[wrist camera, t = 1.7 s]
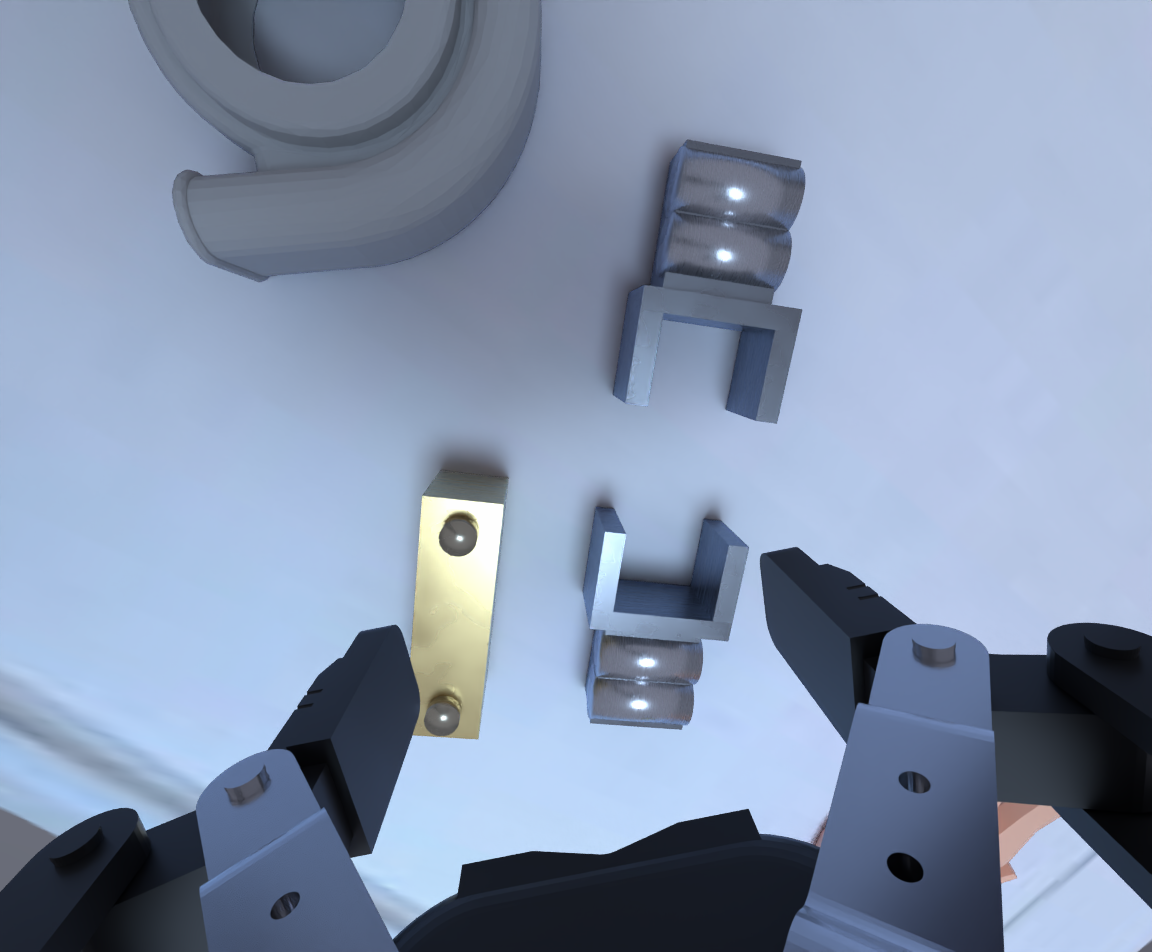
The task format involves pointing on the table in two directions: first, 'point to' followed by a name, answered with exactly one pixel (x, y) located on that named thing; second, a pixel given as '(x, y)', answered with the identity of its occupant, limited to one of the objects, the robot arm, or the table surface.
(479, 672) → the brass block with pins
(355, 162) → the turbocharger housing
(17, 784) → the table surface
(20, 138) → the table surface
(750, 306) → the chain ends
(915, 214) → the table surface
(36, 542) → the table surface
